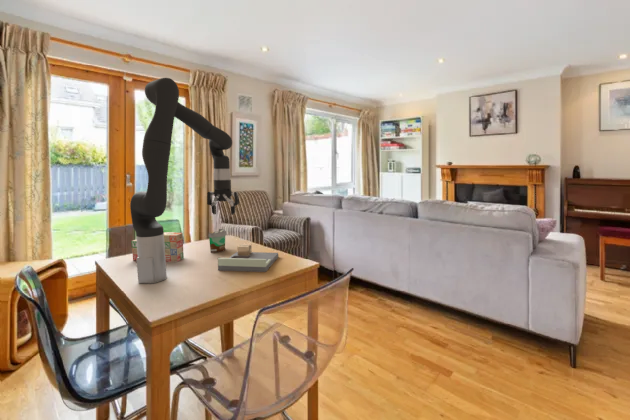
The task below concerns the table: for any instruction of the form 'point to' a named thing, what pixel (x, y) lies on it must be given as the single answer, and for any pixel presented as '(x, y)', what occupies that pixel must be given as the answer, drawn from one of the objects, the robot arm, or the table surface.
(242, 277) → the table surface
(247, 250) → the maple block
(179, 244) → the stack of blocks
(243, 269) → the grey panel with windows
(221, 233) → the food container
